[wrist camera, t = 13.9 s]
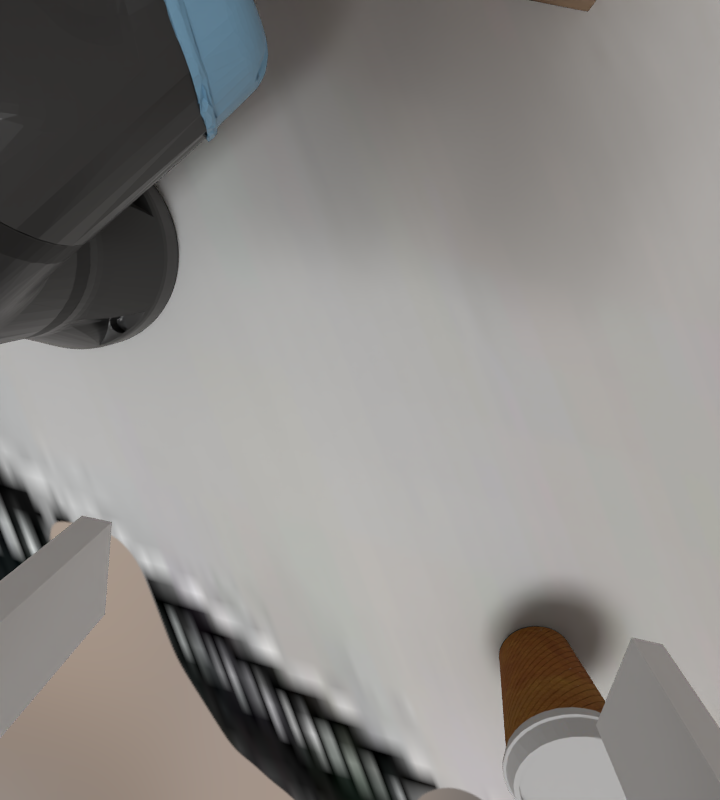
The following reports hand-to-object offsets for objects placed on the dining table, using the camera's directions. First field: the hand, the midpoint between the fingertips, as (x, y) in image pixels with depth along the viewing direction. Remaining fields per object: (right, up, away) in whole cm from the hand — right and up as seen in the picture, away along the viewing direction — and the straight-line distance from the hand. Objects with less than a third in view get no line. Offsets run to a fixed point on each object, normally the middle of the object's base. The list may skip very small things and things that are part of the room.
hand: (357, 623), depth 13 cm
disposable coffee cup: (+16, -17, +33) cm, 41 cm away
